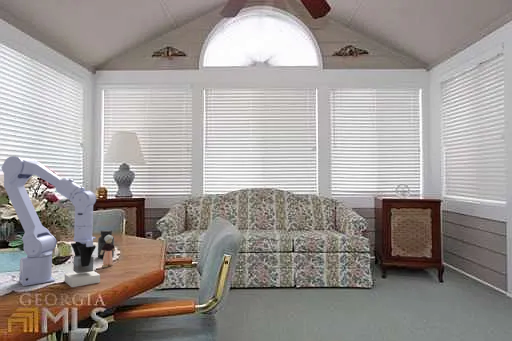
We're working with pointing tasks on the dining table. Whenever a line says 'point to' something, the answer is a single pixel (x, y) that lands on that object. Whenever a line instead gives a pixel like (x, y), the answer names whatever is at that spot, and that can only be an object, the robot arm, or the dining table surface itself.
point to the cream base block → (82, 278)
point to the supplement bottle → (104, 242)
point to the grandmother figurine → (107, 251)
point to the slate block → (78, 266)
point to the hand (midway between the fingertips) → (82, 264)
